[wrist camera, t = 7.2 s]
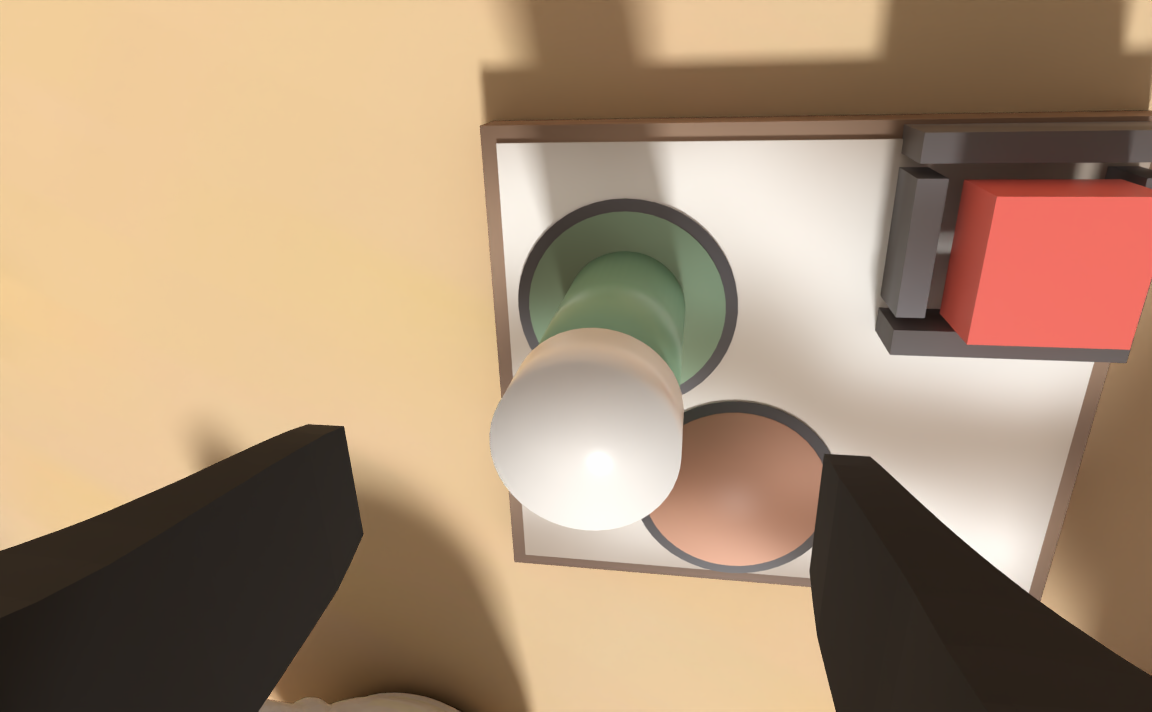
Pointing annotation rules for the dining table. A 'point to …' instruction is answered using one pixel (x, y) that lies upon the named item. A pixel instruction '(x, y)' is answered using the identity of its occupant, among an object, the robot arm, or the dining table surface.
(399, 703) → the teacup
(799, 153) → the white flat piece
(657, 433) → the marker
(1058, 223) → the button
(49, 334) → the dining table surface
